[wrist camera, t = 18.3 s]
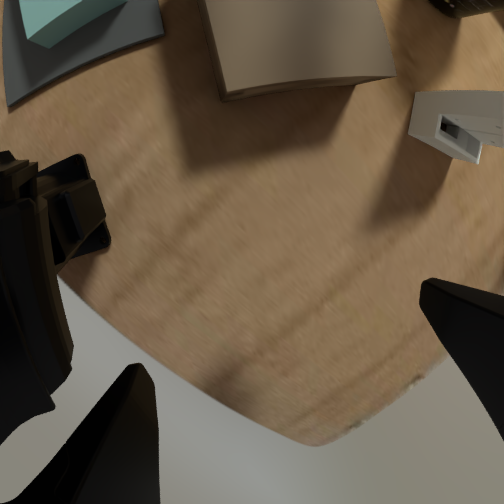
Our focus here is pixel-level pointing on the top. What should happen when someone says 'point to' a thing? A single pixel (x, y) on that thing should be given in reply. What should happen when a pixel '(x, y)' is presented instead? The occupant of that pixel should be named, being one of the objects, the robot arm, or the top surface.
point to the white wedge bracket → (459, 121)
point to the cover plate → (60, 17)
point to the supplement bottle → (467, 7)
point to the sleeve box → (294, 44)
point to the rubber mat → (71, 45)
